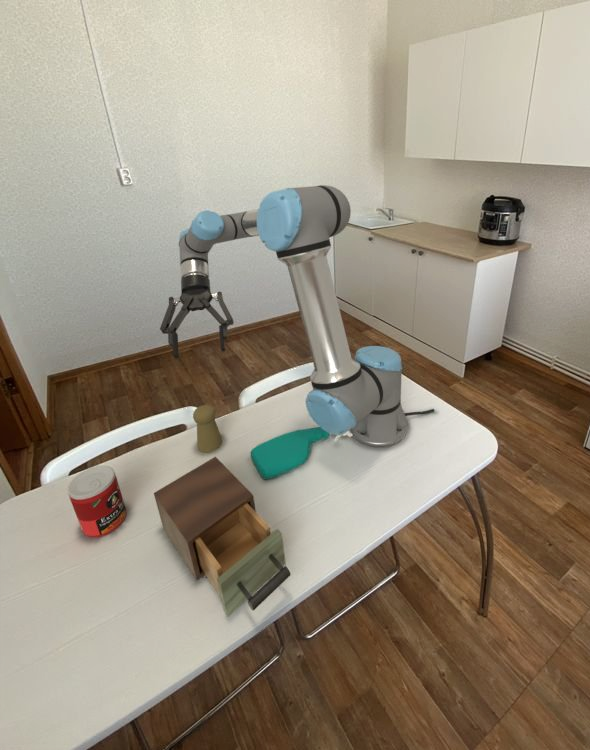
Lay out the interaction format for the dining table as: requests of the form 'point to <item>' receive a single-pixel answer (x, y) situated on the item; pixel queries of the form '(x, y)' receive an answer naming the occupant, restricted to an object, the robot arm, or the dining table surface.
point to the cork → (207, 429)
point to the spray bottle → (287, 451)
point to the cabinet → (199, 506)
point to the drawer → (242, 559)
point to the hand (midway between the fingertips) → (199, 353)
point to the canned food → (97, 501)
